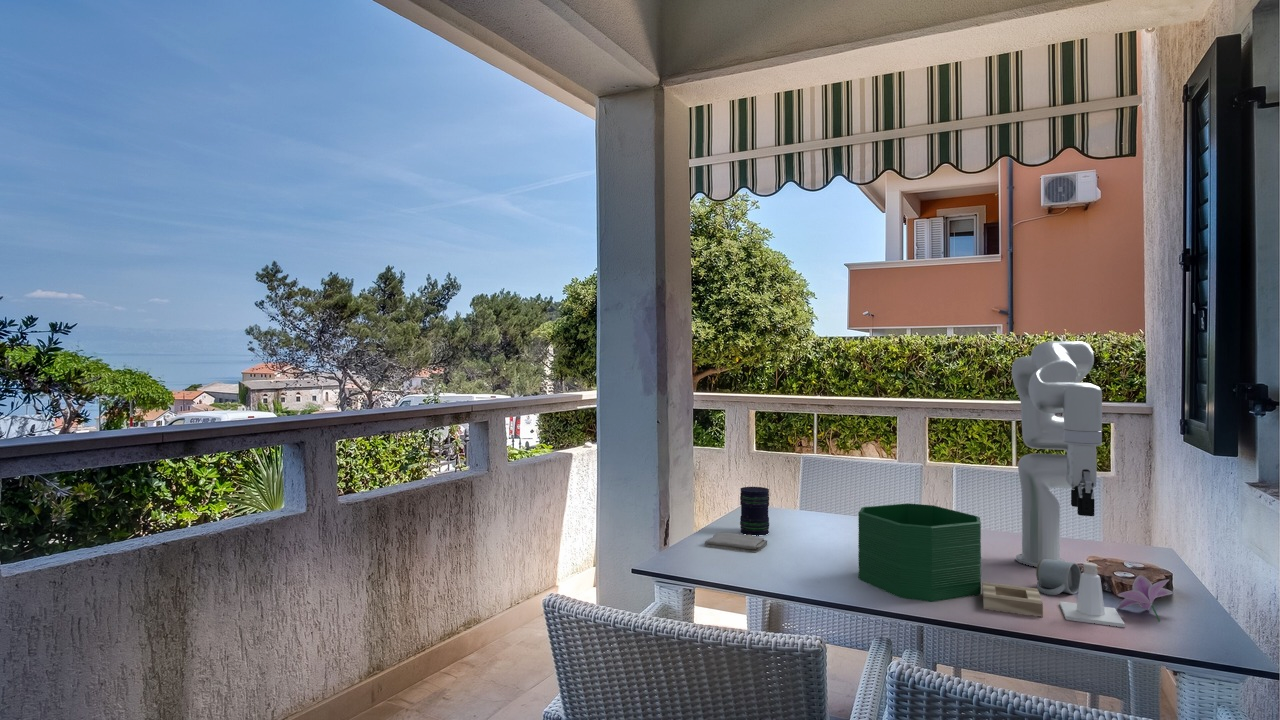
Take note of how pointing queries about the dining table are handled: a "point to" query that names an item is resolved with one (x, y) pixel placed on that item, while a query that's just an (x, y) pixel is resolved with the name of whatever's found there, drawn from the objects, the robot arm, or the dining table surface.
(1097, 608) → the pepper shaker
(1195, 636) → the dining table surface
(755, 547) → the washcloth
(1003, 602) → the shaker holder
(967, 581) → the planter
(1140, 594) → the lily
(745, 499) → the storage jar
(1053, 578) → the ceramic mug
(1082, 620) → the ceramic coaster
